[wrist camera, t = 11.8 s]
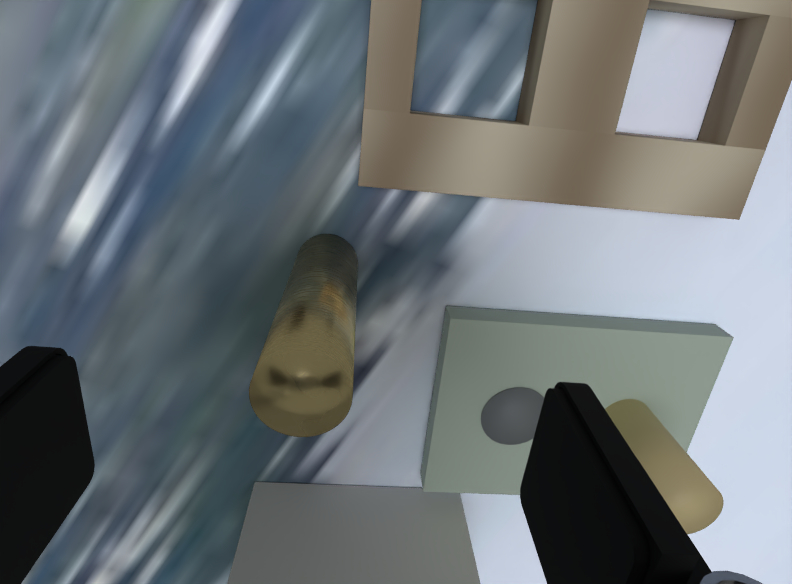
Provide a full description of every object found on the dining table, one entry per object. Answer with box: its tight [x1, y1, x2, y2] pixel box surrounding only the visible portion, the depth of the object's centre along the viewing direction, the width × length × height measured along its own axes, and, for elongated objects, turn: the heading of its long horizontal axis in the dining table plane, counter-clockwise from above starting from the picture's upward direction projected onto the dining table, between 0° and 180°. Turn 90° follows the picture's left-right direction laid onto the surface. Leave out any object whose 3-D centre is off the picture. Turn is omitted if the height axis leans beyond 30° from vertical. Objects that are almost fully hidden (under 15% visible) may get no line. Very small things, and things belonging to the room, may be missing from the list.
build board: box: [358, 0, 792, 220], centre depth 17 cm, size 14×9×2 cm, turn 84°
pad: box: [421, 306, 734, 534], centre depth 21 cm, size 12×9×6 cm
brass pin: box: [249, 234, 358, 437], centre depth 16 cm, size 2×2×9 cm
